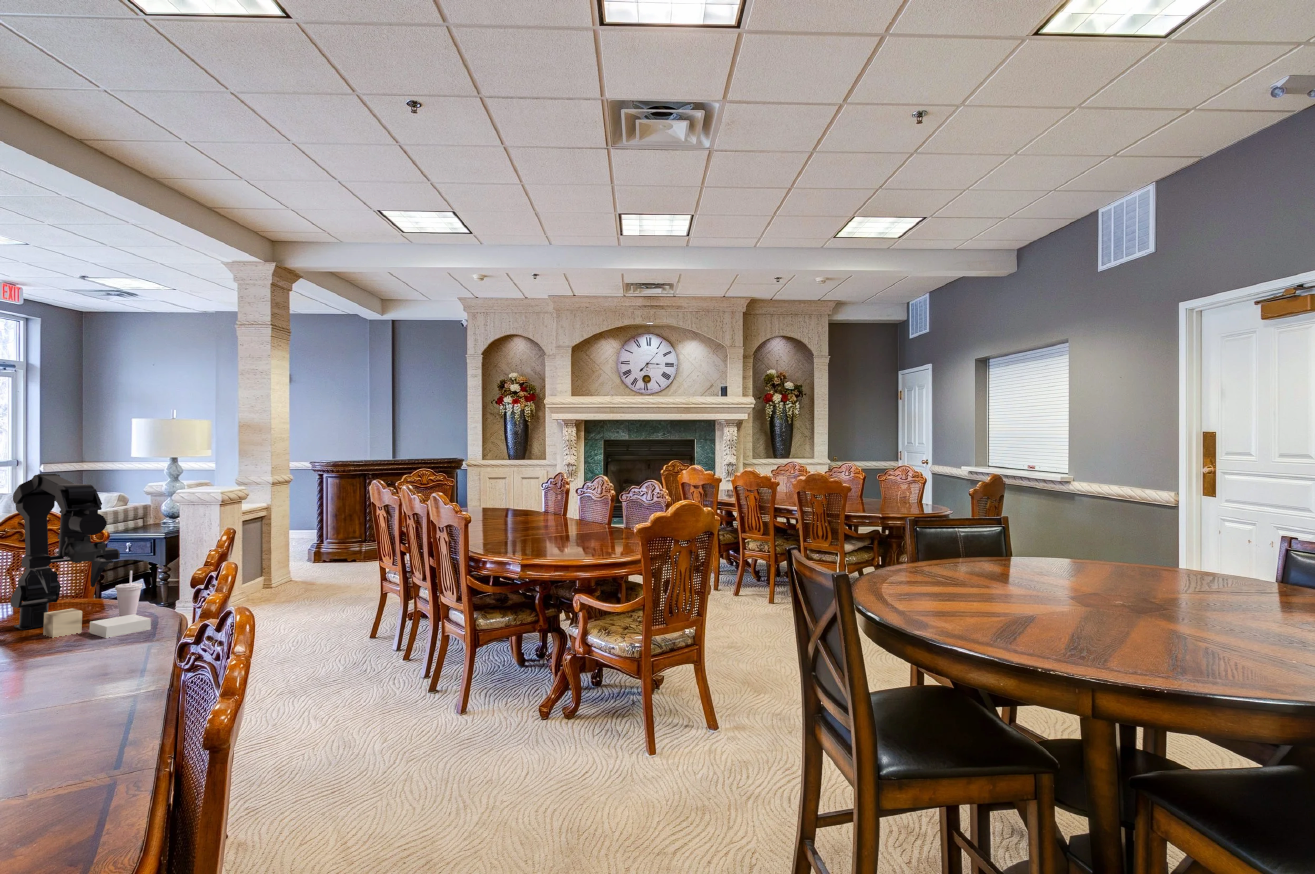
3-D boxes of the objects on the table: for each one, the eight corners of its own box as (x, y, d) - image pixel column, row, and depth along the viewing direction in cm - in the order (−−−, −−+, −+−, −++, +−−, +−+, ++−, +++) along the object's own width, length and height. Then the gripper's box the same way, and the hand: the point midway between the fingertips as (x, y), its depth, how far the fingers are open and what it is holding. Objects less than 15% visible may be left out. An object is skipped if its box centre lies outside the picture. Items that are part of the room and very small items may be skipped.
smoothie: (125, 620, 186) (127, 572, 186) (107, 619, 187) (109, 571, 187) (146, 615, 192) (148, 569, 192) (129, 614, 193) (131, 568, 194)
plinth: (89, 632, 173) (89, 621, 173) (133, 624, 182) (133, 614, 182) (106, 638, 168) (106, 626, 168) (150, 629, 177) (151, 618, 177)
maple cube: (43, 635, 170) (44, 612, 171) (71, 630, 176) (72, 608, 176) (52, 638, 168) (53, 615, 168) (81, 633, 173) (82, 611, 173)
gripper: (40, 538, 157) (36, 601, 157) (130, 531, 174) (127, 588, 173) (22, 533, 163) (18, 594, 162) (112, 527, 179) (108, 582, 179)
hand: (70, 589), depth 169 cm, fingers open, 9 cm apart
